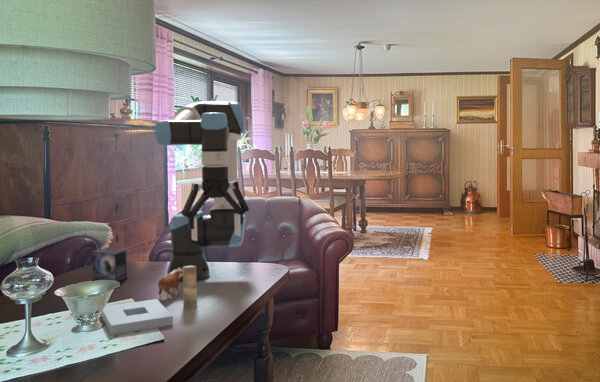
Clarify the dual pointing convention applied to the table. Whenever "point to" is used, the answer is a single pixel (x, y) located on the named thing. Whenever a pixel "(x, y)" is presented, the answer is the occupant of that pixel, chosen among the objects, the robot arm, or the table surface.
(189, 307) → the peg
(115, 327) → the socket board
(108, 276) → the small box
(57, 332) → the table surface
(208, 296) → the table surface
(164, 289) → the bull figurine
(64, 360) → the table surface
